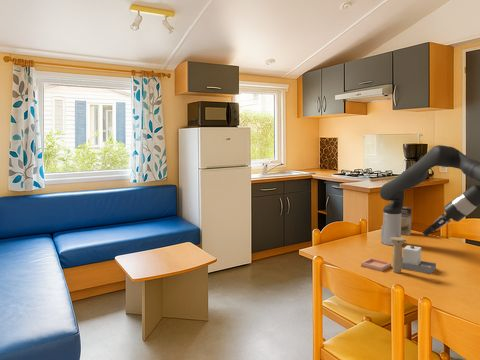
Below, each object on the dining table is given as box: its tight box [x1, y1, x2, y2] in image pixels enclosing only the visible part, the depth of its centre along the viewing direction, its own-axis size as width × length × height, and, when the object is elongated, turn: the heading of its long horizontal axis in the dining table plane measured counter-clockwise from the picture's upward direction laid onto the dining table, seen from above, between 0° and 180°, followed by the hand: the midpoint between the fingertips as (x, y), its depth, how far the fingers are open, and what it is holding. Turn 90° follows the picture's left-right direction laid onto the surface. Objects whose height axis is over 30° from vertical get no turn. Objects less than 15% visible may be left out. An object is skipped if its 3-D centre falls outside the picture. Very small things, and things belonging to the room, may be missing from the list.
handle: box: [390, 236, 407, 274], centre depth 169 cm, size 5×6×15 cm
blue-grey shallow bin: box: [401, 256, 437, 275], centre depth 174 cm, size 14×8×2 cm, turn 51°
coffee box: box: [401, 206, 413, 236], centre depth 233 cm, size 9×6×16 cm
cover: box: [402, 245, 422, 265], centre depth 174 cm, size 6×7×8 cm
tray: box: [360, 257, 392, 272], centre depth 177 cm, size 10×9×2 cm
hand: (426, 232), depth 160 cm, fingers open, 6 cm apart
